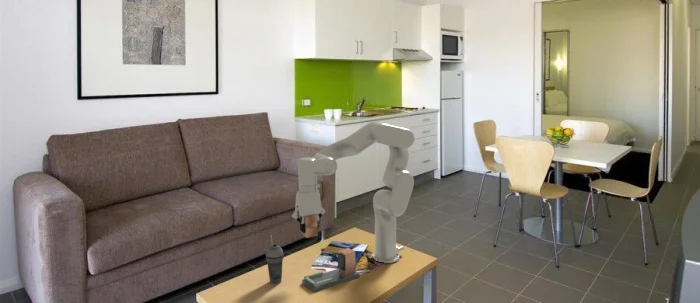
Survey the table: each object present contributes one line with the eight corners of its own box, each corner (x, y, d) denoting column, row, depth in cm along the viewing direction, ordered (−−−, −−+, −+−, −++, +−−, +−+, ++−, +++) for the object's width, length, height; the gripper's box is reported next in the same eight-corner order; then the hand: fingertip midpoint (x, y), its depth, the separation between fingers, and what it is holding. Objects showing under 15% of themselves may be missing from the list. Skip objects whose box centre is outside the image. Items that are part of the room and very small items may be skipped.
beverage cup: (281, 286, 182) (279, 238, 178) (263, 285, 183) (261, 237, 180) (287, 278, 189) (285, 232, 185) (270, 277, 190) (268, 231, 187)
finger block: (311, 231, 194) (310, 211, 192) (317, 235, 189) (317, 214, 187) (300, 233, 191) (300, 213, 190) (306, 238, 186) (306, 216, 185)
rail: (346, 269, 197) (346, 246, 195) (359, 276, 190) (359, 252, 188) (302, 283, 184) (301, 258, 183) (313, 291, 177) (312, 266, 175)
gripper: (322, 183, 194) (323, 224, 197) (285, 189, 185) (286, 232, 188) (330, 187, 187) (331, 229, 190) (292, 193, 179) (294, 237, 182)
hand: (309, 230), depth 189 cm, fingers closed on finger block, 5 cm apart
